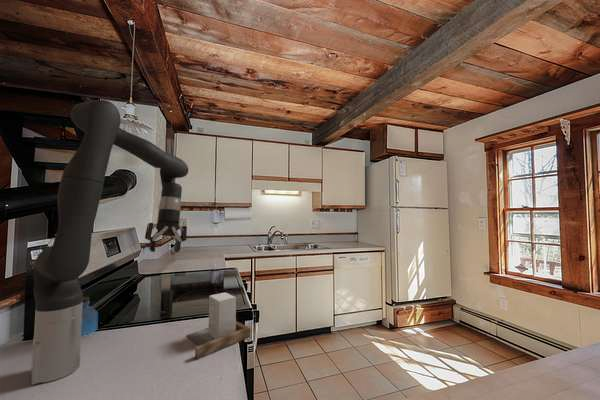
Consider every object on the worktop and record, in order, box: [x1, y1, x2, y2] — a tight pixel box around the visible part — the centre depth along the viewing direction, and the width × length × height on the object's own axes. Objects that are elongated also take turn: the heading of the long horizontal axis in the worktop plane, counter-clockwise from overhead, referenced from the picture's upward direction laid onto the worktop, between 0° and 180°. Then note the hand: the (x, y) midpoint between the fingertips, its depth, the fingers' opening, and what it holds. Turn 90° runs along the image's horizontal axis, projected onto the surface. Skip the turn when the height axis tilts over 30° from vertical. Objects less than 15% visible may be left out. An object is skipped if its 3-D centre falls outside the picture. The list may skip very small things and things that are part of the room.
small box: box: [208, 292, 237, 339], centre depth 88 cm, size 8×6×13 cm
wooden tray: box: [186, 320, 252, 360], centre depth 86 cm, size 18×16×3 cm
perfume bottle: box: [81, 296, 99, 337], centre depth 90 cm, size 6×6×12 cm
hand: (165, 251), depth 97 cm, fingers open, 8 cm apart
